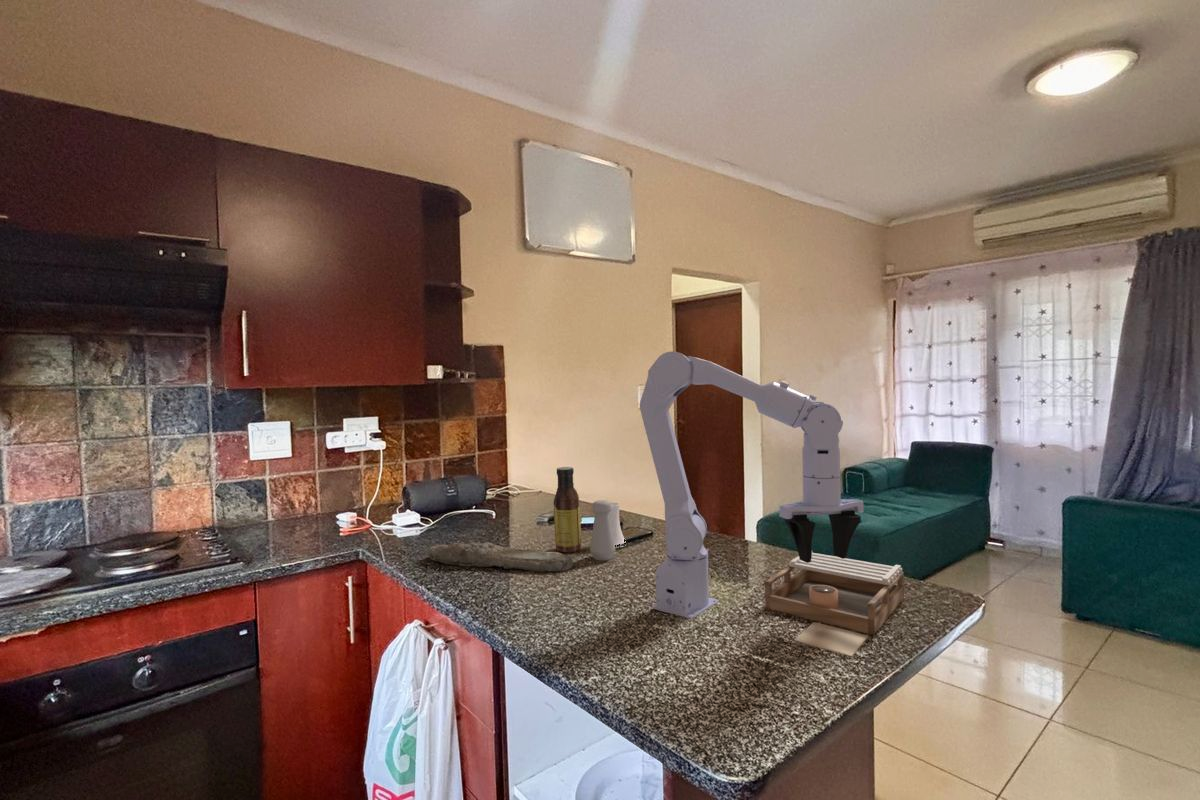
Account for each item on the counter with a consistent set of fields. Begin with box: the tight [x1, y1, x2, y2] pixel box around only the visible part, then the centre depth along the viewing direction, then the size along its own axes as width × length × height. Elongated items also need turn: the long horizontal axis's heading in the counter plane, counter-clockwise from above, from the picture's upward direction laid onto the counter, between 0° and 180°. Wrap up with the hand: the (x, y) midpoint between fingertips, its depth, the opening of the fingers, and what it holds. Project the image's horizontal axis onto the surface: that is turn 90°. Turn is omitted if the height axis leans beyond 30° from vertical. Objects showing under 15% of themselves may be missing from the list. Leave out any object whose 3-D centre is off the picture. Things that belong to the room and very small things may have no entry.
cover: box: [788, 552, 903, 585], centre depth 98 cm, size 9×17×1 cm, turn 49°
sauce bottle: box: [553, 466, 582, 554], centre depth 132 cm, size 7×6×20 cm
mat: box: [794, 621, 869, 658], centre depth 81 cm, size 8×8×1 cm
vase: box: [609, 502, 627, 549], centre depth 136 cm, size 8×8×10 cm
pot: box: [809, 585, 838, 610], centre depth 90 cm, size 4×4×4 cm
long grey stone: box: [426, 541, 574, 573], centre depth 123 cm, size 35×5×10 cm
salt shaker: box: [589, 499, 616, 562], centre depth 125 cm, size 6×6×13 cm
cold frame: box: [764, 566, 905, 636], centre depth 95 cm, size 19×17×5 cm
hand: (822, 558), depth 90 cm, fingers open, 6 cm apart
